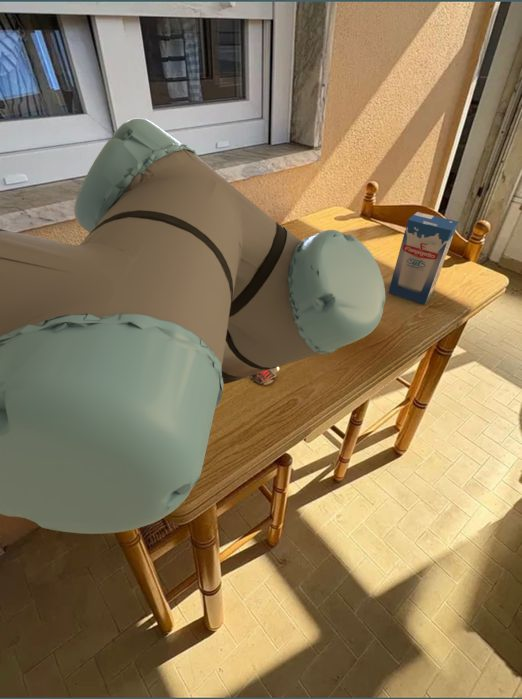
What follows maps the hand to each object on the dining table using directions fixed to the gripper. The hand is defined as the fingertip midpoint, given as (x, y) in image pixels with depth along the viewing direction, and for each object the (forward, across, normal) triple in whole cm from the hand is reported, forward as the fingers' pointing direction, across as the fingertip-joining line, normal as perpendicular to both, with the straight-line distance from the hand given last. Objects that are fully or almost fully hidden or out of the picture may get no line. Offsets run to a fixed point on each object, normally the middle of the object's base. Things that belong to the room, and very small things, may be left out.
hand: (154, 379), depth 55 cm
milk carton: (+3, +72, -19) cm, 75 cm away
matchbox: (+9, +23, -12) cm, 27 cm away
